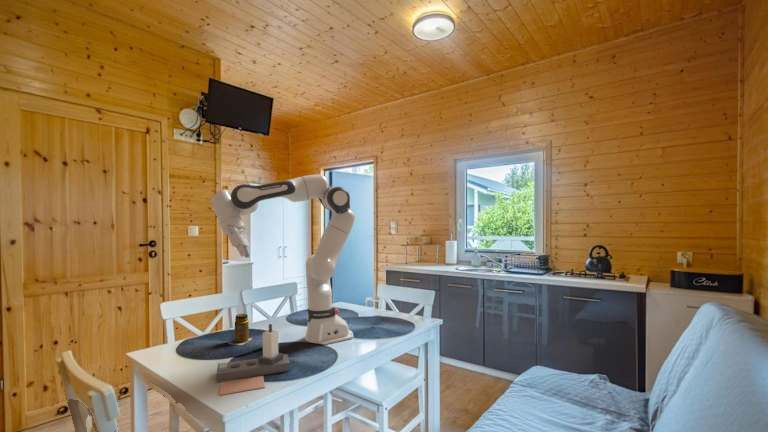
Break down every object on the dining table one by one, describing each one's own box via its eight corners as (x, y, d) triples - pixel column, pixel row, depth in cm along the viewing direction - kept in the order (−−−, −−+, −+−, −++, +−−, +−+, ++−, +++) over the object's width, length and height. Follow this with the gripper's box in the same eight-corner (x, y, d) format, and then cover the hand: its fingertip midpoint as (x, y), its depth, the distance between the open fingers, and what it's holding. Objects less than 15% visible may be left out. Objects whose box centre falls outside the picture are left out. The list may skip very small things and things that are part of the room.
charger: (270, 358, 141) (269, 321, 141) (278, 359, 139) (278, 323, 139) (262, 362, 137) (262, 325, 137) (271, 363, 136) (271, 326, 135)
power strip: (287, 361, 145) (287, 348, 145) (289, 370, 136) (289, 357, 136) (218, 371, 136) (218, 358, 136) (216, 382, 127) (216, 368, 127)
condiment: (252, 338, 172) (252, 313, 171) (242, 345, 163) (242, 318, 163) (238, 338, 173) (238, 312, 173) (227, 344, 164) (227, 317, 164)
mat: (263, 376, 132) (263, 375, 132) (264, 387, 123) (264, 386, 123) (221, 383, 127) (221, 382, 127) (219, 395, 118) (219, 394, 118)
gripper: (235, 220, 146) (248, 251, 144) (244, 227, 165) (256, 255, 164) (219, 226, 144) (232, 258, 143) (231, 232, 164) (243, 260, 163)
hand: (245, 256), depth 154 cm, fingers open, 8 cm apart
